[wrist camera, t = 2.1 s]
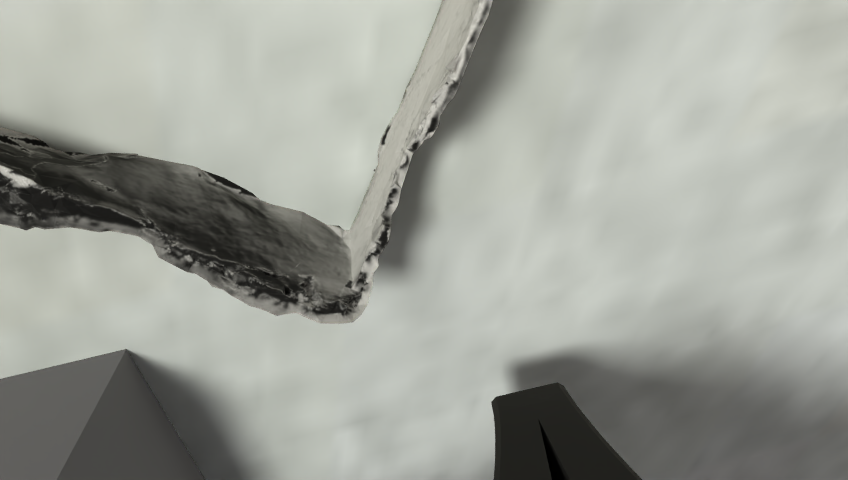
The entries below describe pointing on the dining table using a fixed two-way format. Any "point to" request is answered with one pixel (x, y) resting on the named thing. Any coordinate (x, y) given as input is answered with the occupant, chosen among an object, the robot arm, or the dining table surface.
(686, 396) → the dining table surface
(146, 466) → the grey stepped block
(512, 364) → the dining table surface
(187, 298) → the dining table surface
